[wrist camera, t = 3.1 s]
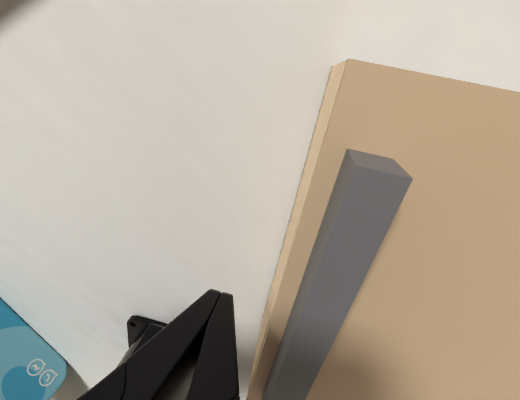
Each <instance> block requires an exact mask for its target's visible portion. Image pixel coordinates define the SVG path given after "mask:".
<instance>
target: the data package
mask: <svg viewBox="0 0 520 400" xmlns="http://www.w3.org/2000/svg"><path fill="white" fill-rule="evenodd" d="M66 373H67V365H66V362H65V360H64V359H63V358H62V357H61V356H60V355H59V354H58V353H57V352H56V351H55V350H54V349H53V348H52V347H51V346H50V345H49V344H48V343H47V342H45V341H44V340H43V339H42V338H41V337H40V336H39V335H38V334H37V333H36V332H35V331H34V330H33V329H32V328H31V327H30V326H29V325H28V324H27V323H26V322H24V321H23V320H22V319H21V318H20V317H19V316H18V315H17V314H16V313H15V312H14V311H13V310H12V309H11V308H10V307H9V306H8V305H7V304H6V303H5V302H3V301H2V300H1V299H0V400H50V399H51V397H52V396H53V395H54V394H55V392H56V391H57V390H58V389H59V387H60V386H61V385H62V383H63V381H64V379H65V377H66Z"/></svg>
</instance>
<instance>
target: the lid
mask: <svg viewBox="0 0 520 400" xmlns="http://www.w3.org/2000/svg"><path fill="white" fill-rule="evenodd" d="M246 400H520V92H515V91H510V90H505V89H500V88H495V87H490V86H485V85H480V84H475V83H470V82H465V81H460V80H454V79H449V78H444V77H439V76H434V75H429V74H424V73H419V72H414V71H409V70H404V69H399V68H394V67H389V66H384V65H379V64H374V63H369V62H364V61H359V60H354V59H348V60H346V63H345V66H344V70H343V73H342V76H341V80H340V83H339V87H338V90H337V93H336V97H335V100H334V104H333V107H332V110H331V114H330V117H329V121H328V124H327V127H326V131H325V134H324V138H323V141H322V144H321V148H320V151H319V154H318V158H317V161H316V165H315V168H314V171H313V175H312V178H311V182H310V185H309V188H308V192H307V195H306V199H305V202H304V205H303V209H302V212H301V215H300V219H299V222H298V226H297V229H296V232H295V236H294V239H293V243H292V246H291V249H290V253H289V256H288V260H287V263H286V266H285V270H284V273H283V277H282V280H281V283H280V287H279V290H278V293H277V297H276V300H275V304H274V307H273V310H272V314H271V317H270V321H269V324H268V327H267V331H266V334H265V338H264V341H263V344H262V348H261V351H260V354H259V358H258V361H257V365H256V368H255V371H254V375H253V378H252V382H251V385H250V388H249V392H248V395H247V399H246Z"/></svg>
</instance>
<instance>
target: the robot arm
mask: <svg viewBox="0 0 520 400" xmlns="http://www.w3.org/2000/svg"><path fill="white" fill-rule="evenodd" d="M127 330H128V343H129V349H128V351H127V352H126V354H125V355H124V357H123V358H122V360H121V361H120V363H119V364H118V366H117V367H116V369H115V370H114V371H112V372H111V373H110V374H109V375H108V376H106V377H105V378H104V379H103V380H101V381H100V382H99V383H98V384H96V385H95V386H94V387H93V388H91V389H90V390H89V391H87V392H86V393H85V394H83V395H82V396H81V397H79V398H78V399H76V400H240V397H239V382H238V366H237V351H236V335H235V320H234V305H233V295H232V294H228V293H225V292H222V293H221V292H220V291H217V290H213V289H210V290H208V291H207V292H206V293H205V294H203V295H202V296H201V297H200V298H199V299H198V300H196V301H195V302H194V303H193V304H192V305H190V306H189V307H188V308H187V309H186V310H185V311H183V312H182V313H181V314H180V315H179V316H177V317H176V318H175V319H174V320H173V321H172V322H170V323H169V324H168V325H166V324H163V323H159V322H156V321H152V320H149V319H145V318H142V317H139V316H131V317H130V318H129V320H128V321H127Z"/></svg>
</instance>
